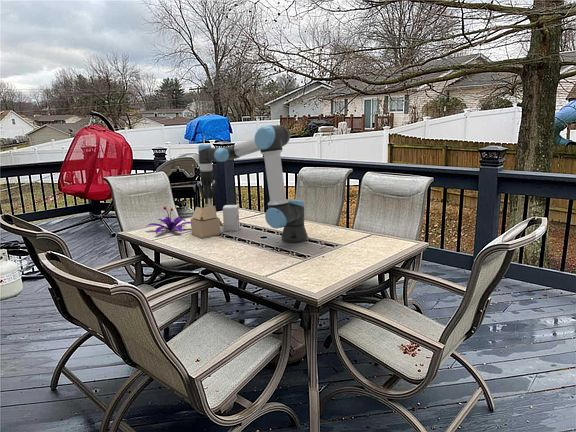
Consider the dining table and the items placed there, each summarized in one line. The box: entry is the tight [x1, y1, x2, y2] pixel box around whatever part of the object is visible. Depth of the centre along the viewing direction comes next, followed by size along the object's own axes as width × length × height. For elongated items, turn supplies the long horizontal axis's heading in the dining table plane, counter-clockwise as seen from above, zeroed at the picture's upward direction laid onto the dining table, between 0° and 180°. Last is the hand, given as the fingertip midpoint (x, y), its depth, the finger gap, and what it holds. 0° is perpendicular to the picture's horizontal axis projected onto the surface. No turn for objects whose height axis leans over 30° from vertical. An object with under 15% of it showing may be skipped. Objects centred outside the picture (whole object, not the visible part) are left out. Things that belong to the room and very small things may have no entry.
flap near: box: [200, 205, 218, 220], centre depth 250 cm, size 1×9×7 cm, turn 131°
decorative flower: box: [145, 206, 191, 234], centre depth 266 cm, size 28×31×15 cm
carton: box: [190, 215, 224, 239], centre depth 258 cm, size 16×16×10 cm
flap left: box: [191, 206, 203, 220], centre depth 251 cm, size 9×1×7 cm, turn 41°
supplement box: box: [222, 204, 240, 232], centre depth 266 cm, size 9×9×15 cm
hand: (208, 209), depth 257 cm, fingers closed
